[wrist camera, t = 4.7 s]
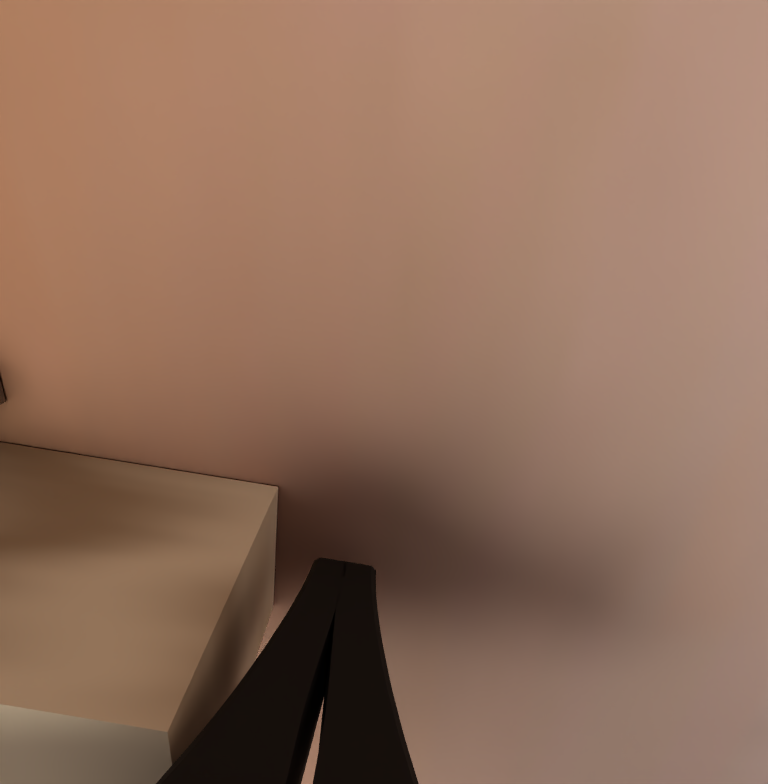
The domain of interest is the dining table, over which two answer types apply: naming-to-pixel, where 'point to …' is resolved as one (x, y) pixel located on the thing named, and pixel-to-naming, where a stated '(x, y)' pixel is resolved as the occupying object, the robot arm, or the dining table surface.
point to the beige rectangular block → (122, 611)
